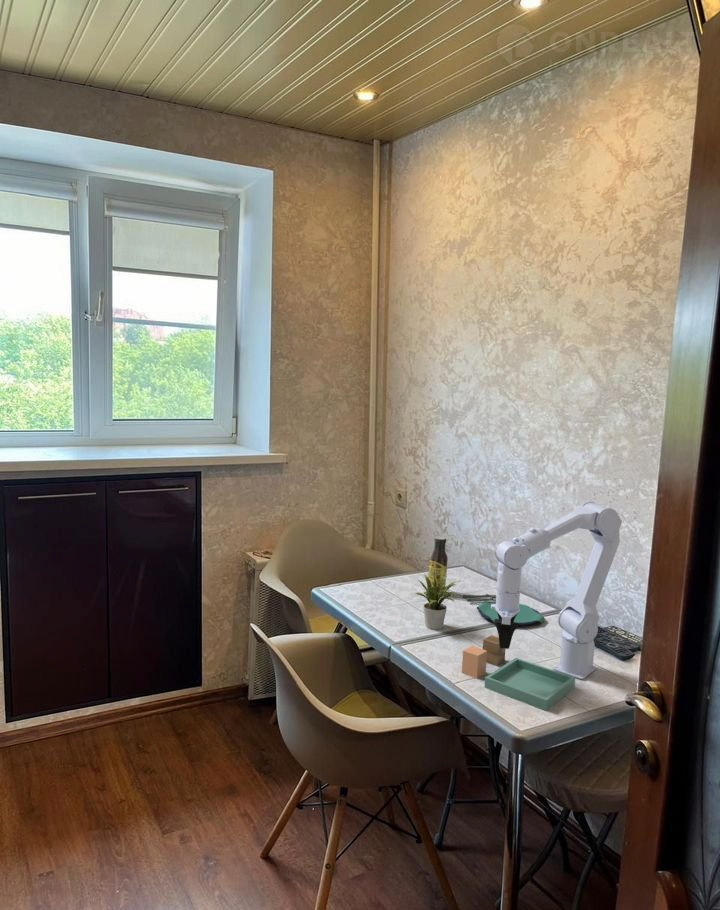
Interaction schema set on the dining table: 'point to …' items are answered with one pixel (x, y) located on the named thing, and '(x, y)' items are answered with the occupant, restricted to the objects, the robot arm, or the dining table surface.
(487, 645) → the walnut block
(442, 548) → the sauce bottle
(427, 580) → the house plant
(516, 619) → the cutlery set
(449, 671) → the dining table surface
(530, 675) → the tray
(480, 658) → the terracotta block
